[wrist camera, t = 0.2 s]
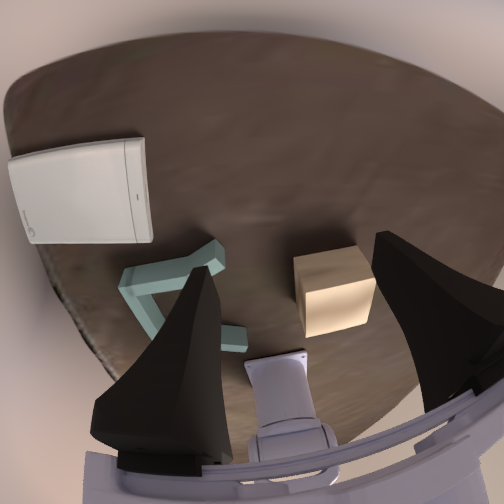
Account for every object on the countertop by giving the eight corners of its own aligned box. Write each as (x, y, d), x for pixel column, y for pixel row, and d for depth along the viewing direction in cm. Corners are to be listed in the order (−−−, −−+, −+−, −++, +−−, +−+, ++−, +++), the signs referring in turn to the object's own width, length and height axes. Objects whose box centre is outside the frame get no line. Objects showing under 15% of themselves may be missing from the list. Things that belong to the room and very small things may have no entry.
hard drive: (29, 245, 19) (150, 245, 20) (5, 161, 14) (139, 140, 15) (37, 235, 20) (154, 234, 22) (16, 154, 15) (146, 134, 17)
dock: (247, 333, 30) (249, 351, 28) (169, 343, 30) (167, 361, 28) (221, 237, 22) (222, 256, 20) (119, 257, 22) (111, 277, 20)
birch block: (350, 290, 28) (366, 322, 24) (295, 302, 28) (305, 337, 24) (356, 244, 24) (377, 277, 20) (292, 256, 24) (305, 292, 20)
